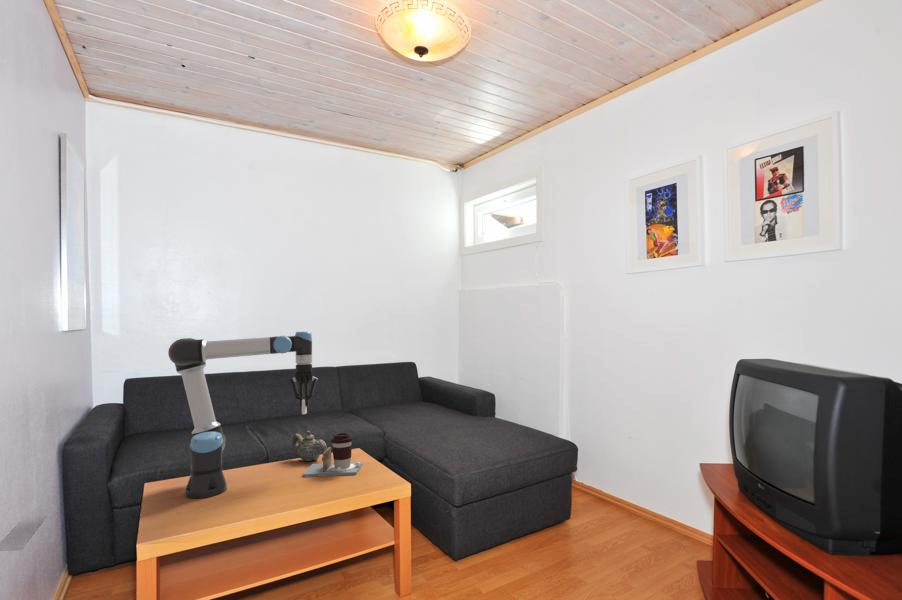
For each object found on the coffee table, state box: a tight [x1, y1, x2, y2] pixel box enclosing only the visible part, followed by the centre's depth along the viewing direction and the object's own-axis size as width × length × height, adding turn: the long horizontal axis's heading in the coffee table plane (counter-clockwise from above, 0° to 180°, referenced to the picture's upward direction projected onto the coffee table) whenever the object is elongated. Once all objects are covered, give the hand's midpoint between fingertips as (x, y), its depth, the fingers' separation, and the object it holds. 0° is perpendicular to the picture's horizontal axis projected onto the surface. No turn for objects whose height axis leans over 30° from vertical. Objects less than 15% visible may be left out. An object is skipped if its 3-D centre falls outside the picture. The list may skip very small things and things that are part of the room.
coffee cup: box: [330, 432, 354, 469], centre depth 217 cm, size 10×10×15 cm
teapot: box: [291, 430, 328, 462], centre depth 236 cm, size 21×12×15 cm, turn 68°
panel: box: [321, 446, 332, 471], centre depth 217 cm, size 3×12×8 cm, turn 2°
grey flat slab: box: [302, 461, 363, 478], centre depth 217 cm, size 24×17×3 cm
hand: (304, 413), depth 220 cm, fingers closed
